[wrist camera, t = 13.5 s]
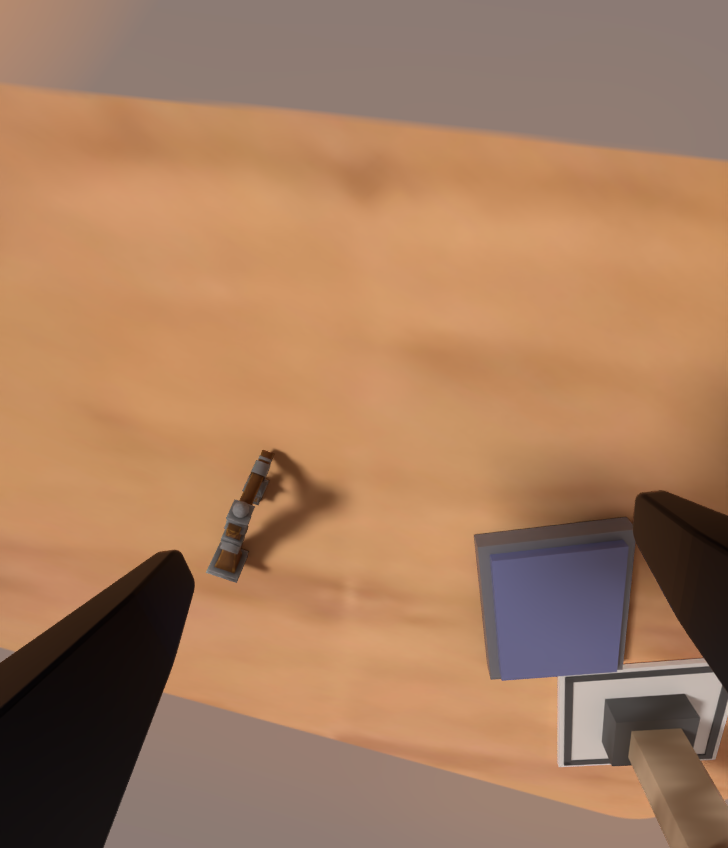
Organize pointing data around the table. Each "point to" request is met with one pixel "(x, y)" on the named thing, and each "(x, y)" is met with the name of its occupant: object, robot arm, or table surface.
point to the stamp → (667, 766)
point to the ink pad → (556, 598)
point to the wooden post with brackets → (240, 523)
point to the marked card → (588, 693)
